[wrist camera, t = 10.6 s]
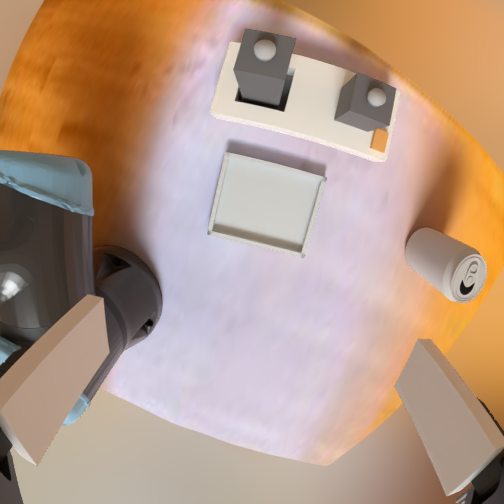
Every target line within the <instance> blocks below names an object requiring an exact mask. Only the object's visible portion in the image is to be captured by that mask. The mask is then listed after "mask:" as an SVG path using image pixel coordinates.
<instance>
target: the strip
mask: <svg viewBox="0 0 504 504" xmlns="http://www.w3.org/2000/svg"><path fill="white" fill-rule="evenodd" d="M240 45H241V43H238V42H231V41H230V44H229V47H228V50H227V53H226V57H225V60H224V63H223V66H222V70H221V73H220V77H219V80H218V83H217V87H216V91H215V94H214V98H213V101H212V105H211V109H210V113H211V114H212V115H213V116H214V117H215V118H217V119H222V120H227V121H232V122H237V123H242V124H247V125H251V126H256V127H260V128H264V129H269V130H273V131H277V132H281V133H284V134H288V135H292V136H296V137H299V138H303V139H306V140H310V141H313V142H317V143H320V144H323V145H326V146H330V147H333V148H336V149H339V150H342V151H345V152H348V153H351V154H354V155H357V156H360V157H362V158H365V159H368V160H371V161H373V162H386V160H387V156H388V152H389V147H390V143H391V138H392V134H393V129H394V124H395V119H396V114H397V109H398V103H399V98H400V91H398V90H396V88H394V87H392V86H390V85H387V84H385V83H383V82H380V81H378V80H375V79H373V78H370V77H368V76H365V75H363V74H360V73H354V72H352V71H349V70H346V69H343V68H340V67H337V66H334V65H331V64H328V63H325V62H321V61H318V60H315V59H311V58H308V57H304V56H300V55H296V54H292V56H291V60H290V64H289V68H288V72H287V76H286V80H285V83H284V87H283V91H282V95H281V99H280V103H279V107H278V109H274V108H270V107H265V106H261V105H256V104H252V103H247V102H244V101H243V98H242V95H241V92H240V89H239V86H238V83H237V80H236V77H235V74H234V71H233V69H234V65H235V62H236V58H237V55H238V52H239V49H240Z"/></svg>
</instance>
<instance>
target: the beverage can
mask: <svg viewBox="0 0 504 504" xmlns="http://www.w3.org/2000/svg"><path fill="white" fill-rule="evenodd" d="M405 257H406V261H407V263H408V265H409V266H410V267H411V269H413V270H414V271H415V272H416V273H418V274H419V275H420V276H421V277H423V278H424V279H425V280H426V281H428V282H429V283H430V284H431V285H432V286H434V287H435V288H436V289H437V290H439V291H440V292H441V293H442V294H443V295H444V296H446V297H447V298H448V299H449V300H451V301H455V302H459V303H467V302H469V301H471V300H473V299H474V298H475V297H476V296H477V295H478V294H479V293H480V291H481V290H482V288H483V286H484V283H485V280H486V276H487V266H486V262H485V260H484V258H483V257H482V256H481V255H480V253H479V252H478V251H477V250H476V249H474V248H472V247H470V246H468V245H466V244H464V243H462V242H460V241H458V240H456V239H454V238H452V237H450V236H447V235H445V234H443V233H441V232H439V231H437V230H434V229H432V228H428V227H425V228H421V229H419V230H417V231H415V232H414V233H413V234H412V235H411V237H410V238H409V240H408V242H407V245H406V249H405Z"/></svg>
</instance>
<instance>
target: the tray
mask: <svg viewBox="0 0 504 504" xmlns="http://www.w3.org/2000/svg"><path fill="white" fill-rule="evenodd" d="M326 180H327V178H326V177H323V176H319V175H316V174H312V173H309V172H305V171H302V170H298V169H295V168H291V167H287V166H283V165H279V164H276V163H272V162H268V161H264V160H260V159H255V158H251V157H247V156H242V155H238V154H233V153H229V152H225V156H224V160H223V164H222V168H221V173H220V177H219V181H218V186H217V190H216V195H215V199H214V204H213V208H212V213H211V218H210V222H209V227H208V232H207V234H208V235H212V236H216V237H221V238H225V239H229V240H233V241H237V242H241V243H245V244H249V245H253V246H257V247H261V248H266V249H270V250H274V251H278V252H282V253H286V254H290V255H294V256H298V257H302V258H304V256H305V253H306V250H307V246H308V243H309V240H310V236H311V233H312V230H313V226H314V223H315V219H316V216H317V212H318V209H319V205H320V202H321V198H322V194H323V191H324V187H325V183H326Z"/></svg>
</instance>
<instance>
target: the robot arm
mask: <svg viewBox="0 0 504 504" xmlns="http://www.w3.org/2000/svg"><path fill="white" fill-rule="evenodd" d="M94 213H95V210H94V208H93V198H92V172H91V169H90V167H89V166H88V164H87V163H86V162H84V161H83V160H81V159H79V158H74V157H68V156H61V155H53V154H44V153H34V152H23V151H9V150H0V504H23V501H22V497H21V494H20V490H19V486H18V482H17V478H16V473H15V469H14V464H13V459H12V455H11V453H10V451H9V450H10V449H11V447H12V446H13V447H14V448H15V449H16V451H17V452H18V453H19V455H20V456H22V457H23V458H25V459H27V460H28V461H30V462H32V463H33V464H35V465H36V466H38V464H39V463H40V461H41V459H42V457H43V456H44V454H45V452H46V451H47V449H48V447H49V445H50V444H51V442H52V440H53V439H54V437H55V435H56V434H57V432H58V430H59V429H60V427H61V426H62V425H69V424H73V423H74V422H76V421H77V420H78V418H79V417H80V416H81V415H82V414H83V412H84V411H85V410H86V409H87V408H88V407H89V406H90V402H91V400H92V398H93V397H94V395H95V394H96V392H97V390H98V389H99V387H100V386H101V384H102V383H103V381H104V380H105V378H106V377H107V375H108V373H109V372H110V370H111V369H112V367H113V366H114V364H115V363H116V361H117V360H118V358H119V357H120V355H121V354H122V352H123V351H124V350H126V349H128V348H130V347H132V346H133V345H135V344H137V343H139V342H141V341H142V340H144V339H145V338H146V337H148V336H149V335H150V333H151V332H152V331H153V329H154V328H155V326H156V324H157V323H158V321H159V319H160V316H161V312H162V297H161V292H160V288H159V286H158V283H157V281H156V279H155V277H154V275H153V274H152V272H151V271H150V269H149V268H148V267H147V266H146V264H145V263H144V262H143V261H142V260H141V259H139V258H138V257H137V256H136V255H134V254H133V253H131V252H129V251H128V250H125V249H123V248H120V247H117V246H109V245H106V246H99V247H96V248H94V249H93V216H94ZM395 388H396V390H397V392H398V394H399V396H400V398H401V400H402V402H403V404H404V406H405V408H406V410H407V411H408V413H409V415H410V418H411V419H412V421H413V424H414V426H415V428H416V430H417V432H418V434H419V436H420V438H421V440H422V442H423V444H424V446H425V449H426V451H427V453H428V455H429V457H430V459H431V462H432V464H433V466H434V468H435V471H436V473H437V475H438V477H439V480H440V482H441V484H442V487H443V489H444V492H445V494H446V496H448V495H451V494H453V493H455V492H458V491H460V490H462V489H463V488H464V487H465V486H466V485H467V484H469V482H472V484H473V486H471V487H470V489H468V490H467V491H466V492H465V493H463V494H462V495H461V496H460V497H458V498H457V500H456V503H458V502H459V501H460V500H462V499H463V498H464V497H466V499H464V500H463V501H462V502H461V503H460V504H504V431H503V430H502V428H501V427H500V425H499V424H498V422H497V421H496V420H494V417H493V415H492V414H491V413H490V411H489V410H488V408H487V407H486V405H485V404H484V403H483V402H482V401H481V400H479V399H478V398H477V397H476V396H475V395H474V393H473V392H472V391H471V390H470V388H469V387H468V385H467V384H466V383H465V381H464V380H463V379H462V378H461V376H460V375H459V374H458V373H457V371H456V370H455V369H454V367H453V366H452V365H451V364H450V362H449V361H448V360H447V359H446V357H445V356H444V355H443V354H442V352H441V351H440V350H439V349H438V348H437V346H436V345H435V344H434V343H433V342H432V340H431V339H417V342H416V344H415V346H414V348H413V350H412V352H411V355H410V357H409V359H408V361H407V363H406V365H405V367H404V369H403V371H402V373H401V375H400V377H399V378H398V380H397V382H396V384H395Z"/></svg>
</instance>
